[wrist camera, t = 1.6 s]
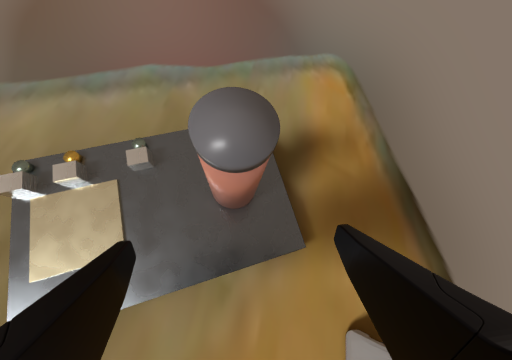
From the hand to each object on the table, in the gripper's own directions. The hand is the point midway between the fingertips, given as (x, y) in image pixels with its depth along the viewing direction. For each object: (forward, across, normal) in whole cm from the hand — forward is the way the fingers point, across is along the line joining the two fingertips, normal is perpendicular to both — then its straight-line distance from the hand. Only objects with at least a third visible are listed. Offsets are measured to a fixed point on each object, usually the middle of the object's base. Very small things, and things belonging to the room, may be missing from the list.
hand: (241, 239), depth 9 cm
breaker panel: (+11, +7, +6) cm, 14 cm away
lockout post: (+11, 0, +4) cm, 12 cm away
